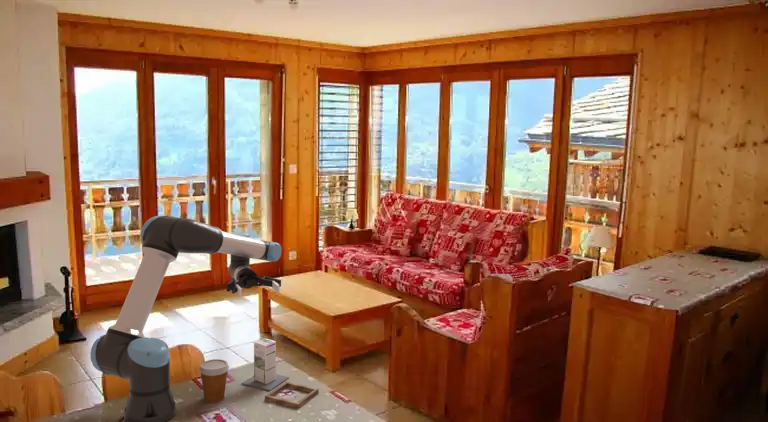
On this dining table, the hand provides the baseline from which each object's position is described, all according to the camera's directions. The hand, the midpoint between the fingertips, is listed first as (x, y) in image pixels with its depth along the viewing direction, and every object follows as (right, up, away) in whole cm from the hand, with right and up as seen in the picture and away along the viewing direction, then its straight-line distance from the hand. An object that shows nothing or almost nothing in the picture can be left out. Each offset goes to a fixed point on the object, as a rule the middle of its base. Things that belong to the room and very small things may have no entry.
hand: (259, 290), depth 211 cm
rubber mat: (+2, -32, 0) cm, 32 cm away
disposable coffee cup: (-12, -34, -15) cm, 39 cm away
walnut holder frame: (+13, -34, -11) cm, 38 cm away
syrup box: (+2, -32, 0) cm, 32 cm away
